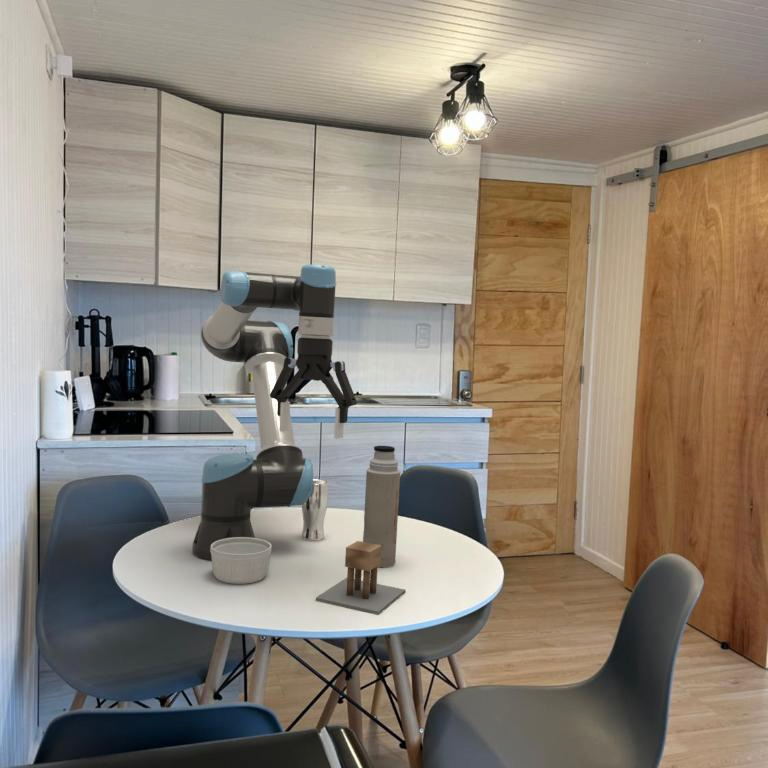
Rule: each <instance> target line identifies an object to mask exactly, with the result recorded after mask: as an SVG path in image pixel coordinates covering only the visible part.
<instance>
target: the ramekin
mask: <svg viewBox="0 0 768 768" xmlns="http://www.w3.org/2000/svg"><path fill="white" fill-rule="evenodd" d="M210 552H211V555H212V560H211V567H212V572H213V575H214V577H215V578H216V580H218V581H219V582H222V583H226V584H232V585H244V584H245V585H246V584H253V583H257V582H259V581H261V580H263V579H264V577H266V575H267V574H268V571H269V567H270V566H269V565H270V559H271V554H272V552H273V545H272V544H271V542H269V541H268V540H265V539H262V538H257V537H255V538H249V537H233V538H226V539H221V540H218V541H216V542H214V543H212V544H211V547H210Z"/></svg>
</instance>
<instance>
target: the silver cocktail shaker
mask: <svg viewBox="0 0 768 768" xmlns="http://www.w3.org/2000/svg"><path fill="white" fill-rule="evenodd" d="M328 503H329V482H328V480H325V479H317V478H313V484H312V489H311V493H310V496H309V498H308V500H307V501H306V502H305V503H304V504H302V505H301V511H302V512H301V513H302V520H303V525H302V530H301V531H302V532H301V536H300V537H301V539H302V538H303V540H304V539H305V540H304V541H307V540H311V541H310V542H319V540H320V541H323V540H324V539H325V531H324V525H325V524H324V523H325V519H326V514H327V513H326V512H327V509H328Z"/></svg>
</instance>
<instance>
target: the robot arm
mask: <svg viewBox="0 0 768 768" xmlns="http://www.w3.org/2000/svg"><path fill="white" fill-rule="evenodd" d="M336 273H337V271H336V269H335V267H333V266H332V265H325V264H304V265H302V267H301V269H300V275H299V276H295V275H294V276H293V275H285V274H283V275H282V274H271V273H270V274H269V273H259V272H252V271H244V270H238V271H236V270H233V271H232V270H231V271H230V270H228V271H226V272H224V273H223V275H222V278H221V282H220V299H221V302H220V304H219V306H218V307H217V309H216V310H215V312H214V314H212V315H210V316H209V317H207V318H206V320H205V321H204V323H203V325H202V327H201V332H200V338H201V341H202V344H203V346H204V348H205V349H206V350H207V351H208V352H209V353H210V354H211V355H212V356H214V357H216V358H218V359H220V360H222V361H224V362H230V363H244V367H245V370H246V372H247V373H248V374H250V375H251V377H252V385H253V393H254V401H255V402H254V403H255V410H256V417H257V425H258V434H259V441H260V449H261V450H260V451H259V452H258V453H256V459H254V457H253V455H252V454H250V453H245V452H241V453H239V452H235V453H234V452H233V453H226V454H219V455H216V456H212V457H211V458H209V459H207V460H205V463H204V464H203V468H202V469H203V470H202V475H201V476H202V478H201V482H202V484H201V486H202V487H201V510H200V512H201V514H200V517H201V518H200V522H199V525H198V528H197V529H196V532H195V536H194V538H193V540H192V554H193V555H194V556H195V557H197V558H200V559H204V560H208V561H212V555H211V552H210V547H211V544H212V543H214V542H216V541H218V540H221V539H226V538H233V537H249V538H256V536H255V531H254V529H253V526H252V521H251V512H252V509H255V508H257V509H258V508H277V507H280V508H281V507H282V508H283V507H287V508H291V507H294V506H302V504H304V503H305V502H306V501H307V500H308V498H309V496H310V493H311V489H312V484H313V479H314V466H313V462H312V460H311V459H310V458H308V457H305V458H304V457H303V456H304V455H303V451H302V448H301V447H299V446H298V445H296V444H295V443H296V442H295V437H294V430H293V424H292V422H293V421H292V417H291V401H289V398H290V397H291V395H293V394H294V392H295V391H296V390H297V388H298V387H299V386H300V385H301V384H302V383H303V381H309V380H311V381H315V382H316V381H317V382H319V381H321V383H322V384H324V386H325V387H326V389H327V390H328V392H329V393H330V395H331V396H332V398H333V399H334V401H335V403H336V404H337V405H338V407H335V413H334V414H335V415H334V435H333V439H342V438H344V424H347V423H348V414H349V408H350V407H353V406H356V405H357V404H358V402H357V398H356V397H355V393H354V391H353V388H352V385H351V384H350V383H351V382H350V380H349V378H348V375H347V373H346V363H345V361H344V360H343V361H342V360H341V361H340V360H339V361H334V362H333V360H332V356H333V343H334V341H333V340H332V339H331V337H333V336H334V318H335V302H336V301H335V300H336V286H337V281H336V277H337V276H336ZM257 308H261V309H262V308H264V309H265V308H266V309H281V310H294V311H296V312H297V311H299V312H298V316H299V317H298V331H297V333H298V335H299V336H300V337H299V338H298V339H297V351H296V352H297V358H296V359H295V358H294V357H293V354H294V348H293V345H294V343H293V336H292V333H291V331H290V329H289V327H288V326H287V325H286V324H285V323H282V322H279V321H274V320H268V321H262V320H251V319H250V318H251V316H252V315H253V314H254V312H255V311H256V310H257ZM249 319H250V320H249ZM295 368H297V372H296V373H295V374H294V375H293V378H292V379H291V380H290V382H289V383H288V381H289V379H290V378H291V375H292V373H293V371H294V369H295ZM331 370H333V372H335V377H336V379H337V382H338V384H339V386H340V388H339V386H338V384H337V383H336V382H335V380H334V376H333V375H332V374H331V373H330V371H331ZM287 383H288V384H287Z"/></svg>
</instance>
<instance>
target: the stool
mask: <svg viewBox="0 0 768 768" xmlns="http://www.w3.org/2000/svg"><path fill="white" fill-rule="evenodd" d="M344 561H345V562H344V567H346V568H347V573H346V574H347V577H346V578H347V592H346V595H348V596H352V595H353V588H354V590H361V581H363V591H362V598H363V599H369V589H370V593H371V594H375V593H376V588H377V584H378V583H377V581H378V569H379V568H378V565H380V562H381V545H377V544H372V543H366V542H363V541H360V540H356V541H355V542H353V543H352V544H350V545H348V546H346V547H345V560H344ZM362 571H363V573H362ZM362 574H363V575H362ZM354 579H355V580H354Z"/></svg>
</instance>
